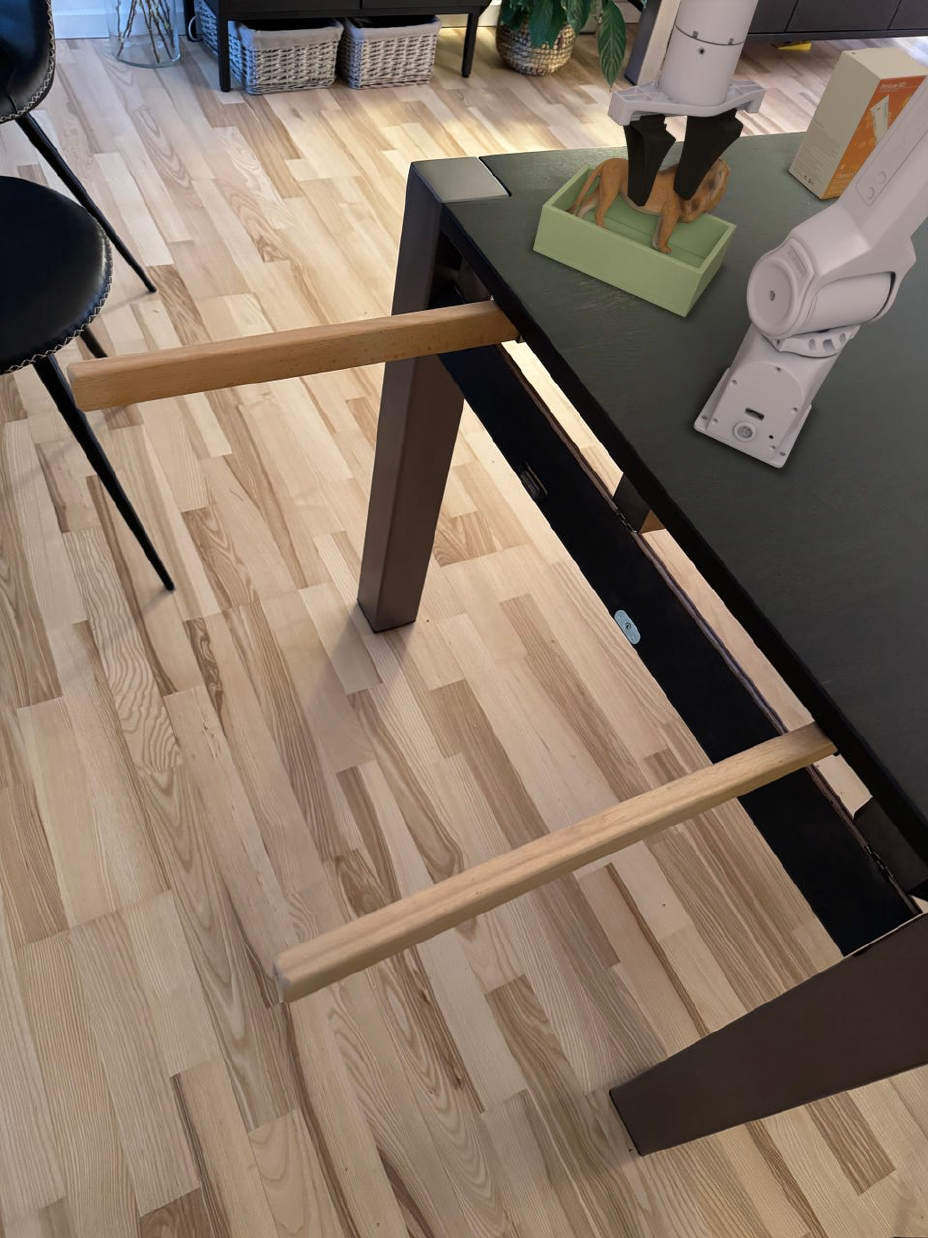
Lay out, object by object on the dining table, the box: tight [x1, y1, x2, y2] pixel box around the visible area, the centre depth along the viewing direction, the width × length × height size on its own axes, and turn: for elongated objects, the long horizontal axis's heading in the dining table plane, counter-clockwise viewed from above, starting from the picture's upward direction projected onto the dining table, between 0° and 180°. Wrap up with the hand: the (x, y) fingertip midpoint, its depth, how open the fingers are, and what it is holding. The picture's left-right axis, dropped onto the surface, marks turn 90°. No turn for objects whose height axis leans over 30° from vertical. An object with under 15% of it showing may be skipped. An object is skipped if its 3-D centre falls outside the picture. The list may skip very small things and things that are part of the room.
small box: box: [788, 46, 928, 200], centre depth 98 cm, size 8×6×13 cm
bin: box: [532, 162, 737, 318], centre depth 86 cm, size 10×16×5 cm, turn 61°
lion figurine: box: [565, 156, 731, 254], centre depth 85 cm, size 15×5×9 cm, turn 80°
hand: (658, 197), depth 81 cm, fingers open, 4 cm apart
